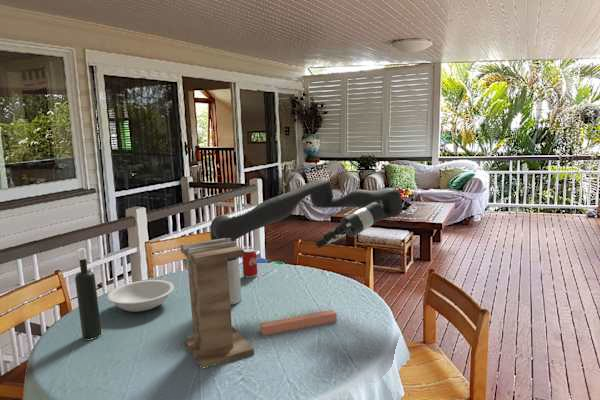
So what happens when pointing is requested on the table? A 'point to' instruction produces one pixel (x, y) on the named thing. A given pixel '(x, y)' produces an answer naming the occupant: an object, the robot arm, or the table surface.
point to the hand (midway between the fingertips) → (320, 242)
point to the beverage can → (249, 263)
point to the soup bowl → (140, 295)
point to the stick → (297, 322)
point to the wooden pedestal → (213, 303)
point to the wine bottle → (87, 299)
